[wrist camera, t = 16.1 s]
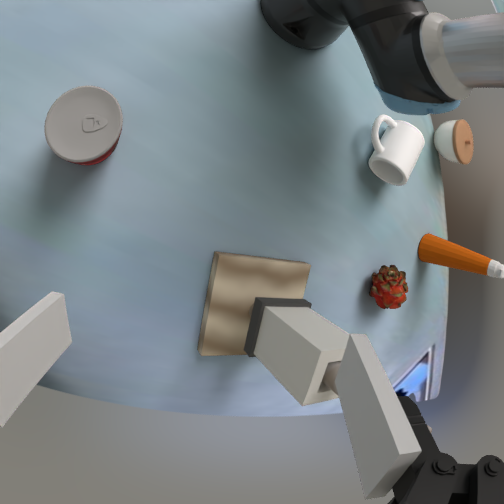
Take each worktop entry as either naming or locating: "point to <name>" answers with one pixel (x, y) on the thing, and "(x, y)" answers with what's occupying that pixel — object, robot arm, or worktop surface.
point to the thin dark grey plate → (258, 314)
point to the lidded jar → (454, 141)
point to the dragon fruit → (389, 287)
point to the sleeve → (300, 350)
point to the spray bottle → (457, 257)
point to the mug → (395, 150)
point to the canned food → (84, 125)
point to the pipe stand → (248, 301)
